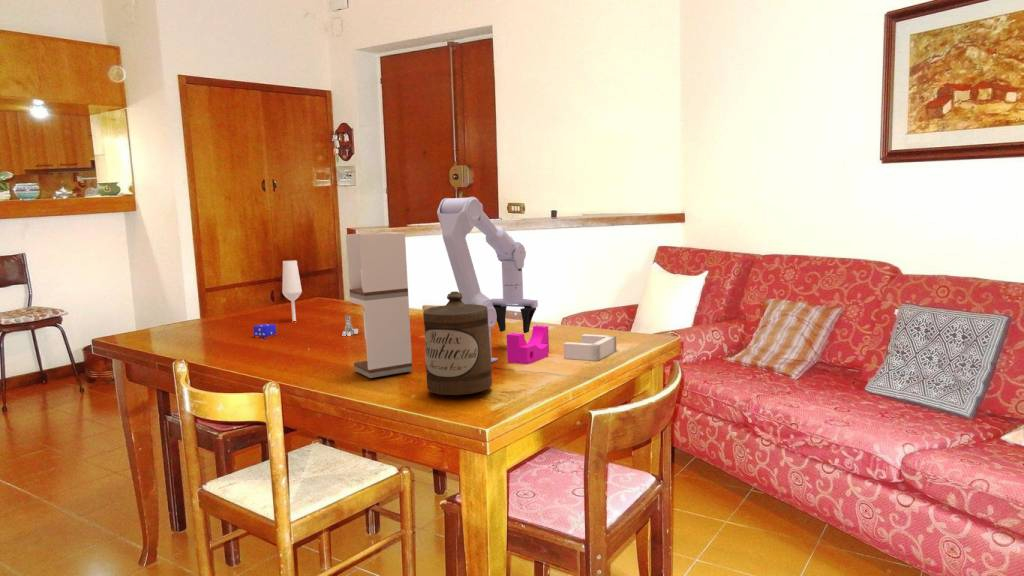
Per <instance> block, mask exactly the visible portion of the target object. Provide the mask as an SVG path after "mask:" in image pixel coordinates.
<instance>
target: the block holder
mask: <svg viewBox="0 0 1024 576" xmlns="http://www.w3.org/2000/svg"><path fill="white" fill-rule="evenodd" d="M580 336H581V342H573V341H572V342H569V341H566V342H564V343H563V358H564V359H567V360H579V361H591V362H594V361H595V362H598V361H600V360H602V359H604V358H605V357H607V356H609V355H611V354H613V353H614V352H616V351H617V336H616V335H607V334H605V335H604V334H587V333H584V334H582V335H580Z"/></svg>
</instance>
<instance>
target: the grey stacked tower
mask: <svg viewBox="0 0 1024 576" xmlns="http://www.w3.org/2000/svg"><path fill="white" fill-rule="evenodd" d="M345 242H346V256H347V257H346V258H347V273H348V274H347V275H348V289H349V302H350V303H351V304H356V305H359V306H362V307H363V312H362V313H363V326H364V329H363V330H364V338H365V339H364V340H365V342H366V343H365V344H366V345H365V346H366V357H367V358H366V360H362V361H356V362H354V363H353V364H354V365H353V366H354V367H353V368H354V372H357V373H359V374H361V375H363V376H364V377H367V378H369V379H372V378H378V377H384V376H390V375H396V374H402V373H408V372H412V371H413V358H412V357H413V355H412V341H411V340H412V337H411V321H410V304H409V302H410V301H409V299H410V298H409V285H408V281H409V280H408V264H407V263H408V262H407V250H406V249H407V248H406V232H393V231H391V232H389V231H388V232H387V231H385V232H384V231H383V232H371V233H370V232H368V233H351V234H350V233H349V234H347V233H346V234H345Z"/></svg>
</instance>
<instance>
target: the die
mask: <svg viewBox="0 0 1024 576" xmlns="http://www.w3.org/2000/svg"><path fill="white" fill-rule="evenodd" d="M252 329H253V337H254V336H259V337H268V336H271V335H274V334H276V335H277V326H276V324H275V323H274V324H272V323H261V324H259V325H255V326H253V328H252Z"/></svg>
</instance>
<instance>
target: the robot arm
mask: <svg viewBox="0 0 1024 576" xmlns="http://www.w3.org/2000/svg"><path fill="white" fill-rule="evenodd" d="M436 213H437V218H438V220H439V224H440V228H441V232H442V239H443V240H442V241H443V243H444V247H445V250H446V253H447V256H448V259H449V263H450V267H451V270H452V273H453V277H454V280H455V283H456V288H457V290H458V292H459V293H461V294H462V299H461V301H462V302H463V303H464V304H475V305H483V306H486V307H487V310H488V327H489V340H490V352H491V353H492V339H491V337H492V335H491V334H492V333H491V330H494V326H495V325H496V323H497V325H498V329H499V332H500V333H501V332H505V331H506V328H507V327H506V314H507V308H508V307H511V308H512V307H515V308H518V307H520V310H519V311H520V314H521V318H522V331H523V334H527V333H529V332H530V328H531V327H530V326H531V324H532V319H533V316H534V315H535V313H536V310H537V308H538V307H539V303H538V301H539V300H538V299H526V298H524V285H523V279H524V278H523V268H524V266H525V260H526V255H527V251H526V249H525V246H524V244H522V243H521V242H519V241H515V239H514V238H513V237H512V236H510V235H509V234H508V232H507V231H506V230H505V228H504V227H503V226H499V225H498V226H497V225H496V226H495V224H494V223H493V222H492V221H491V219H490V218H489V217H488V215H487V214H486V213H485V212H484V206H483V203H481V202H480V200H479V199H478V198H477V197H475V196H469V197H455V198H453V197H452V198H451V197H445V198H443V199H442V200H441V201H440V203H439V206H438V208H437V211H436ZM474 227H475V228H476V229H478V230H479V231H480V232H481V233H483V234H484V235H485V242H486V243H487V244H488V245H489V247H491V248H492V249H493V250H494V253H496V258H497V260H498V261H499V262H501V280H502V281H501V282H502V298H491V299H490V298H489V297H488V296H486V295H485V294H484V293H483V292H482V291H481V288H480V283H479V281H478V278H477V274H476V270H475V268H474V264H473V260H472V257H471V254H470V249H469V246H468V242H467V235H468V234H470V233H471V231H473V229H474ZM497 361H499V358H498V357H492V355H491V364H492V363H494V362H497Z"/></svg>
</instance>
